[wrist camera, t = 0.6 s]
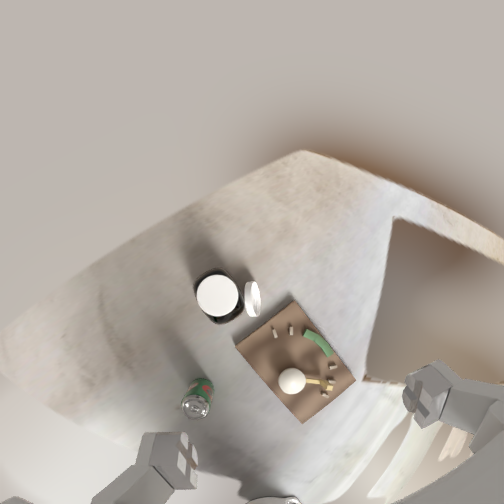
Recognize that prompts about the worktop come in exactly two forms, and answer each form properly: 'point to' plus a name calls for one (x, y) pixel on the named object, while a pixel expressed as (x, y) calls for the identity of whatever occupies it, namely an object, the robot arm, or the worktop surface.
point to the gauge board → (296, 360)
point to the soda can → (198, 399)
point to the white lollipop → (298, 381)
